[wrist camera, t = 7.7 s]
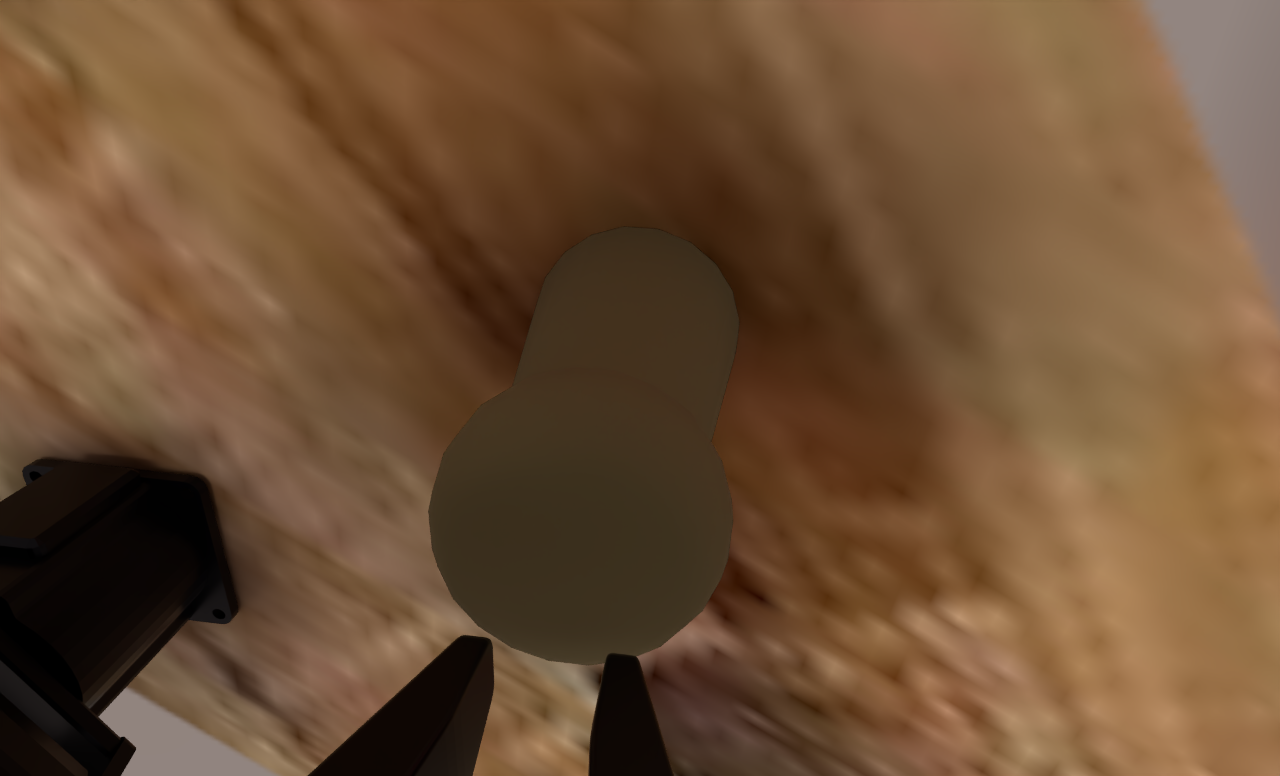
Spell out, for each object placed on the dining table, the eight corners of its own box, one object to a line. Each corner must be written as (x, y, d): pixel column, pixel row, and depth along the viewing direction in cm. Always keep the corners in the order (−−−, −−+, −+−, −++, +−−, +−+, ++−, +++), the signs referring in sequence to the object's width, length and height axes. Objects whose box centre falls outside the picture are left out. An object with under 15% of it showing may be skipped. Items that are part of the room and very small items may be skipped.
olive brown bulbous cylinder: (522, 395, 22) (363, 676, 12) (551, 204, 19) (378, 362, 9) (710, 438, 22) (707, 755, 12) (765, 254, 19) (819, 465, 9)
